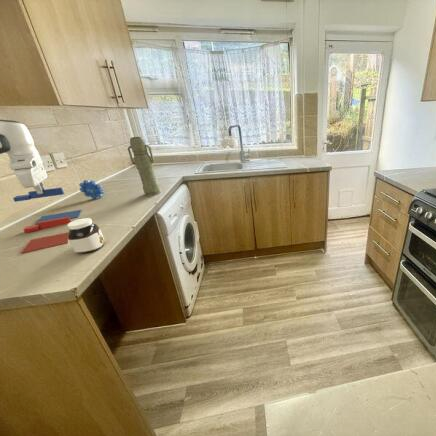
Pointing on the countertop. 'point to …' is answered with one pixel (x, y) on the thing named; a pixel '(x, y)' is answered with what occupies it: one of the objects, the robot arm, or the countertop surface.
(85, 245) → the spread jar
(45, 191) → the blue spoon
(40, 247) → the terracotta mat
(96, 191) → the blue gear
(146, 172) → the thermos
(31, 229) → the red stepped bar
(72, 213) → the slate-blue mat
